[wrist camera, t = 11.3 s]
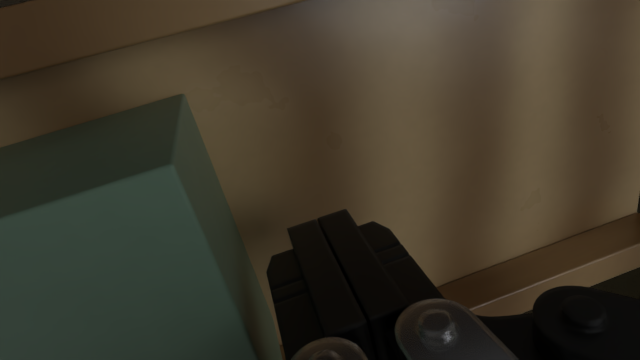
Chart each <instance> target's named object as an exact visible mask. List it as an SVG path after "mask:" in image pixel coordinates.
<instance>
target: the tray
mask: <svg viewBox="0 0 640 360" xmlns="http://www.w3.org/2000/svg"><path fill="white" fill-rule="evenodd" d="M179 94H184V95H185V96H186V99H187V101H188V104H189V106H190V109H191V111H192V114H193V116H194V119H195V122H196V124H197V127H198V129H199V132H200V134H201V137H202V139H203V142H204V144H205V147H206V149H207V152H208V155H209V157H210V160H211V162H212V165H213V167H214V170H215V172H216V175H217V177H218V180H219V182H220V185H221V188H222V190H223V193H224V195H225V198H226V200H227V203H228V205H229V208H230V210H231V213H232V215H233V218H234V221H235V223H236V226H237V228H238V231H239V233H240V236H241V238H242V241H243V243H244V246H245V248H246V251H247V254H248V256H249V259H250V261H251V264H252V266H253V269H254V271H255V274H256V276H257V279H258V281H259V284H260V287H261V289H262V292H263V294H264V297H265V299H266V302H267V304H268V307H269V309H270V312H271V314H272V317H273V320H274V324H275V328H276V333H277V337H278V342H279V346H280V351H281V355H282V359H283V360H286V359H285V353H284V349H283V345H282V340H281V336H280V331H279V327H278V322H277V318H276V313H275V309H274V303H273V300H272V296H271V290H270V287H269V282H268V278H267V273H266V271H267V268H268V265H269V263H270V260H271V257H272V256H273V255H276V254H278V253H281V252H284V251H287V250H290V249H293V247H292V244H291V241H290V238H289V234H288V231H287V228H289V227H292V226H295V225H298V224H301V223H304V222H307V221H310V220H313V219H316V221H317V218H319V217H322V216H325V215H328V214H331V213H334V212H337V211H340V210H343V209H347V211H348V212H349V213H350V215H351V216H352V218H353V219H354V221H355V222H356V224H357V226H360V225H363V224H366V223H368V222H371V221H374V222H376V223H379V224H381V225H383V226H385V227H387V228H389V229H390V230H391V231H392V232H393V234H394V235H395V236H396V237H397V239H398V240H399V241H400V244H402V245H403V246H404V248H405V249H406V250H407V251H408V253H409V255H411V256H412V258H413V259H414V260H415V261H416V263H417V264H418V265H419V266H420V268H421V269H422V270H423V272H424V273H425V274H426V275H427V277H428V278H429V279H430V280H431V282H432V283H433V284H434V285H435V287H436V288H437V289H438V291H439V292H440V293H441V294H442V296H443V297H444V298H445V299H446V300H451V301H454V302H457V303H459V304H462V305H463V306H465V307H467V308H468V309H469V310H471V311H472V312H473V313H474V314H475V315H480V316H489V317H494V316H508V315H519V314H522V313H524V312H527V311H529V310H532V309H533V305H534V302H535V300H536V299H537V298H538V297H539V295H540V294H542V293H543V292H545V291H547V290H549V289H551V288H555V287H559V286H573V285H574V286H584V287H590V286H592V285H595V284H597V283H600V282H603V281H605V280H608V279H610V278H613V277H615V276H618V275H620V274H623V273H625V272H628V271H630V270H633V269H635V268H638V267H640V213H637V206H638V199H639V193H640V0H30V1H26V2H22V3H18V4H13V5H9V6H5V7H1V8H0V148H1V147H4V146H8V145H11V144H14V143H18V142H21V141H24V140H28V139H31V138H34V137H38V136H41V135H45V134H48V133H51V132H55V131H58V130H61V129H65V128H68V127H71V126H75V125H78V124H82V123H85V122H88V121H92V120H95V119H98V118H102V117H105V116H108V115H112V114H115V113H119V112H122V111H125V110H129V109H132V108H135V107H139V106H142V105H145V104H149V103H152V102H156V101H159V100H162V99H166V98H169V97H172V96H176V95H179ZM317 223H318V222H317Z"/></svg>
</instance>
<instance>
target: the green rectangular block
mask: <svg viewBox="0 0 640 360" xmlns="http://www.w3.org/2000/svg"><path fill="white" fill-rule="evenodd" d="M0 360H283V359H282V355H281V351H280V346H279V342H278V337H277V333H276V328H275V324H274V320H273V317H272V314H271V312H270V309H269V307H268V304H267V302H266V299H265V297H264V294H263V292H262V289H261V287H260V284H259V281H258V279H257V276H256V274H255V271H254V269H253V266H252V264H251V261H250V259H249V256H248V254H247V251H246V248H245V246H244V243H243V241H242V238H241V236H240V233H239V231H238V228H237V226H236V223H235V221H234V218H233V215H232V213H231V210H230V208H229V205H228V203H227V200H226V198H225V195H224V193H223V190H222V188H221V185H220V182H219V180H218V177H217V175H216V172H215V170H214V167H213V165H212V162H211V160H210V157H209V155H208V152H207V149H206V147H205V144H204V142H203V139H202V137H201V134H200V132H199V129H198V127H197V124H196V122H195V119H194V116H193V114H192V111H191V109H190V106H189V104H188V101H187V99H186V96H185V95H184V94H179V95H176V96H172V97H169V98H166V99H162V100H159V101H156V102H152V103H149V104H145V105H142V106H139V107H135V108H132V109H129V110H125V111H122V112H119V113H115V114H112V115H108V116H105V117H102V118H98V119H95V120H92V121H88V122H85V123H82V124H78V125H75V126H71V127H68V128H65V129H61V130H58V131H55V132H51V133H48V134H45V135H41V136H38V137H34V138H31V139H28V140H24V141H21V142H18V143H14V144H11V145H8V146H4V147H1V148H0Z"/></svg>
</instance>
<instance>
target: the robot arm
mask: <svg viewBox="0 0 640 360" xmlns="http://www.w3.org/2000/svg"><path fill="white" fill-rule="evenodd" d="M317 222H318V223H317ZM287 231H288V234H289V238H290V241H291V244H292V247H293V249H290V250H287V251H284V252H281V253H278V254H276V255H273V256H272V257H271V260H270V263H269V265H268V268H267V271H266V273H267V278H268V282H269V287H270V290H271V296H272V300H273V303H274V309H275V313H276V318H277V322H278V327H279V331H280V336H281V340H282V345H283V349H284V353H285V359H286V360H640V299H635V298H631V297H627V296H623V295H619V294H614V293H610V292H606V291H602V290H598V289H594V288H589V287H584V286H574V285H573V286H559V287H555V288H551V289H549V290H547V291H545V292H543V293H542V294H540V295H539V297H538V298H537V299H536V300H535V302H534V305H533V313H531V314H520V315H508V316H494V317H489V316H480V315H475V314H474V313H473V312H472V311H471V310H469V309H468V308H467V307H465V306H463V305H462V304H459V303H457V302H454V301H451V300H446V299H445V298H444V297H443V296H442V294H441V293H440V292H439V291H438V289H437V288H436V287H435V285H434V284H433V283H432V282H431V280H430V279H429V278H428V277H427V275H426V274H425V273H424V272H423V270H422V269H421V268H420V266H419V265H418V264H417V263H416V261H415V260H414V259H413V258H412V256H411V255H409V253H408V251H407V250H406V249H405V248H404V246H403V245H402V244H400V241H399V240H398V239H397V237H396V236H395V235H394V234H393V232H392V231H391V230H390V229H389V228H387V227H385V226H383V225H381V224H379V223H376V222H374V221H371V222H368V223H366V224H363V225H360V226H357V224H356V222H355V221H354V219H353V218H352V216H351V215H350V213H349V212H348V211H347V209H343V210H340V211H337V212H334V213H331V214H328V215H325V216H322V217H319V218H317V221H316V219H313V220H310V221H307V222H304V223H301V224H298V225H295V226H292V227H289V228H287Z"/></svg>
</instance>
